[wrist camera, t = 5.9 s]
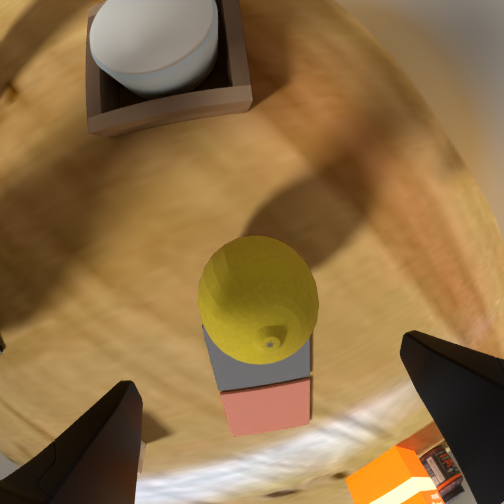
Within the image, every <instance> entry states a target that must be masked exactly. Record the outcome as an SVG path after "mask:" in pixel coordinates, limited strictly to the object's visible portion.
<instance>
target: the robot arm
mask: <svg viewBox="0 0 504 504" xmlns="http://www.w3.org/2000/svg"><path fill="white" fill-rule="evenodd" d="M2 352H3V349H2V347H1V345H0V354H1V353H2ZM400 357H401V360H402V362H403V364H404V366H405V368H406V370H407V372H408V374H409V376H410V378H411V380H412V383H413V385H414V387H415V389H416V391H417V392H418V394H419V396H420V398H421V399H422V401H423V403H424V404H425V406H426V408H427V409H428V411H429V413H430V414H431V416H432V418H433V419H434V421H435V423H436V425H437V426H438V428H439V430H440V432H441V433H442V435H443V437H444V439H445V441H446V442H447V444H448V446H449V448H450V450H451V452H452V453H453V455H454V457H455V459H456V461H457V463H458V465H459V467H460V469H461V471H462V473H463V474H464V475H465V476H464V477H465V479H466V481H467V483H468V485H469V487H470V489H471V491H472V493H473V495H474V498H475V499H476V502H477V504H501V503H502V502H503V501H504V360H503V359H500V358H495V357H494V356H491V355H488V354H485V353H482V352H478V351H475V350H472V349H469V348H466V347H463V346H460V345H457V344H454V343H451V342H448V341H445V340H442V339H439V338H436V337H433V336H431V335H428V334H425V333H422V332H419V331H416V330H412V331H409V332H407V333H405V334H404V335H403V339H402V344H401V349H400ZM142 408H143V402H142V398H141V396H140V394H139V392H138V390H137V388H136V386H135V384H134V382H133V381H130V380H128V381H120V382H119V383H117V384H116V385H115V386H114V387H113V388H112V389H111V390H110V391H109V392H107V393H106V394H105V395H104V396H103V397H102V398H101V399H100V400H99V401H98V402H96V403H95V404H94V405H93V406H92V407H91V408H90V409H89V410H88V411H86V412H85V413H84V414H83V415H82V416H81V417H80V418H79V419H78V420H76V421H75V422H74V423H73V424H72V425H71V426H70V427H69V428H68V429H66V430H65V431H64V432H63V433H62V434H61V435H60V436H59V437H57V438H56V439H55V442H54V441H53V442H52V443H51V444H50V445H48V446H47V447H46V448H45V449H44V450H43V451H41V452H40V453H39V454H38V455H37V456H35V457H34V458H33V459H31V460H30V461H29V462H27V463H26V464H25V465H23V466H22V467H20V468H19V469H17V470H16V471H15V472H13V473H12V474H10V475H9V476H7V477H6V478H4V479H3V480H0V504H134V503H135V492H136V482H137V473H138V465H139V457H140V449H141V438H142Z"/></svg>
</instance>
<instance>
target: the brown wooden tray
mask: <svg viewBox="0 0 504 504" xmlns="http://www.w3.org/2000/svg"><path fill="white" fill-rule="evenodd" d="M105 2H106V1H105ZM105 2H102V3H100V4H97V5H94V6H92V7H89V15H88V26H87V41H86V106H87V122H88V134H94V135H99V136H104V137H109V138H111V137H115V136H119V135H122V134H126V133H130V132H134V131H138V130H142V129H147V128H151V127H156V126H160V125H165V124H170V123H176V122H181V121H186V120H192V119H198V118H205V117H212V116H219V115H226V114H235V113H244V112H247V111H248V109H249V107H250V105H251V103H252V101H253V98H252V90H251V83H250V75H249V68H248V61H247V54H246V47H245V40H244V33H243V27H242V20H241V13H240V7H239V0H215V3H216V5H217V10H218V11H220V15H221V23H222V31H223V40H224V48H225V56H226V64H227V72H228V80H229V87H225V88H217V89H210V90H203V91H196V92H190V93H185V94H179V95H174V96H169V97H164V98H159V99H155V100H150V101H146V102H142V103H138V104H134V105H130V106H126V107H123V108H120V100H119V83H118V81H117V80H116V79H114V78H113V77H112V76H110V75H109V74H108V73H106V72H105V71H104V70H102V69H101V68H100V67H99V66H98V65H97V64H96V62H95V60H94V59H93V56H92V54H91V49H90V29H91V26H92V23H93V20H94V18H95V16H96V14H97V13H98V11H99V10H100V8H101V7H102V6H103V5H104V3H105Z"/></svg>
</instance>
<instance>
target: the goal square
mask: <svg viewBox="0 0 504 504" xmlns="http://www.w3.org/2000/svg"><path fill="white" fill-rule="evenodd" d="M220 396H221V400H222V403H223V406H224V410H225V413H226V416H227V419H228V423H229V426H230V429H231V432H232V435H233V437H234V436H243V435H250V434H257V433H264V432H270V431H276V430H281V429H287V428H292V427H296V426H301V425H306V424H309V414H310V379H309V378H306V379H301V380H296V381H291V382H286V383H281V384H275V385H270V386H264V387H257V388H251V389H244V390H237V391H229V392H220Z"/></svg>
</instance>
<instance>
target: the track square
mask: <svg viewBox="0 0 504 504" xmlns="http://www.w3.org/2000/svg"><path fill="white" fill-rule="evenodd" d="M202 328H203V333H204V337H205V341H206V345H207V348H208V352H209V356H210V360H211V364H212V367H213V371H214V375H215V378H216V382H217V386H218V389H219V391H222V390H231V389H238V388H246V387H252V386H259V385H265V384H271V383H276V382H282V381H287V380H292V379H297V378H302V377H307V376H310V337H309V339H308V340H307V341H306V343H305V344H304V345H303V346H302V347H301V348H300V349H299V350H298V351H297V352H295V353H294V354H292V355H291V356H289V357H287V358H285V359H284V360H281V361H278V362H275V363H270V364H261V365H260V364H248V363H245V362H241V361H238V360H236V359H234V358H232V357H231V356H229V355H227V354H225V353H224V352H223V351H222V350H221V349H219V348H218V347H217V346H216V345H215V344H214V342H213V341H212V340H211V338H210V336H209V335H208V333H207V331H206V329H205V327H204V325H203V324H202Z"/></svg>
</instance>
